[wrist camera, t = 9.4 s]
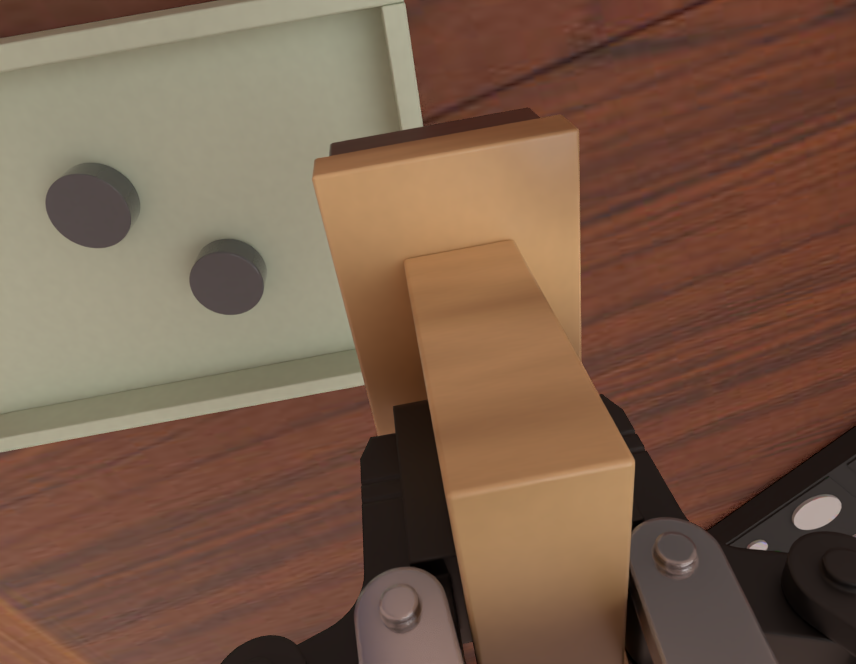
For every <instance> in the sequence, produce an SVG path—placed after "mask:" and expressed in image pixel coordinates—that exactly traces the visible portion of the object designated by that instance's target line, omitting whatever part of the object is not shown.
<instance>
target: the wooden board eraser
mask: <svg viewBox="0 0 856 664" xmlns="http://www.w3.org/2000/svg"><path fill="white" fill-rule="evenodd" d="M312 182H313V186H314V190H315V194H316V198H317V201H318V205H319V209H320V213H321V217H322V221H323V225H324V229H325V232H326V236H327V240H328V244H329V248H330V252H331V256H332V260H333V264H334V267H335V271H336V275H337V279H338V283H339V287H340V291H341V295H342V298H343V302H344V306H345V310H346V314H347V318H348V322H349V326H350V329H351V333H352V337H353V341H354V345H355V349H356V353H357V357H358V361H359V364H360V368H361V372H362V376H363V380H364V384H365V388H366V392H367V395H368V399H369V403H370V407H371V411H372V415H373V419H374V423H375V426H376V430H377V434H378V436H381V435H386V434H392V433H395V424H394V415H393V406H396V405H401V404H406V403H412V402H417V401H422V400H427V399H428V403H429V409H430V414H431V420H432V425H433V431H434V436H435V442H436V448H437V453H438V459H439V464H440V470H441V475H442V481H443V486H444V492H445V497H446V503H447V508H448V513H449V519H450V524H451V529H452V534H453V540H454V545H455V550H456V555H457V561H458V566H459V571H460V577H461V582H462V587H463V592H464V598H465V603H466V608H467V613H468V619H469V624H470V629H471V634H472V640H473V645H474V650H475V656H476V661H477V664H624V651H625V634H626V616H627V598H628V581H629V563H630V546H631V528H632V510H633V493H634V475H635V459H634V457H633V456H632V454H631V452H630V450H629V448H628V447H627V445H626V443H625V441H624V439H623V437H622V436H621V434H620V432H619V430H618V428H617V427H616V425H615V423H614V421H613V419H612V417H611V416H610V414H609V412H608V410H607V408H606V407H605V405H604V403H603V401H602V399H601V397H600V396H599V394H598V392H597V390H596V388H595V387H594V385H593V383H592V381H591V379H590V377H589V376H588V374H587V372H586V370H585V368H584V367H583V365H582V363H581V268H580V163H579V130H578V128H577V127H576V126H574V125H573V124H572V123H571V122H570V121H568V120H567V119H566V118H565V117H564V116H563V115H554V116H549V117H543V118H540V117H539V116H538V115H536V114H535V113H534V112H533V111H532V110H531V109H530V108H523V109H517V110H512V111H506V112H501V113H495V114H490V115H484V116H478V117H473V118H467V119H462V120H456V121H451V122H445V123H440V124H434V125H429V126H423V127H417V128H412V129H406V130H401V131H395V132H390V133H384V134H379V135H373V136H368V137H362V138H356V139H351V140H345V141H340V142H334V143H331V144H330V149H329V156H327V157H322V158H317V159H315V160H314V167H313V175H312Z"/></svg>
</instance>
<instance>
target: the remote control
mask: <svg viewBox="0 0 856 664" xmlns="http://www.w3.org/2000/svg"><path fill="white" fill-rule="evenodd" d="M819 531H832V532H838V533H843V534H847V535H850V536H853V537H856V426H855V427H854V428H853V429H851V430H850V431H848V432H847V433H846V434H844V435H843V436H841V437H840V438H838V439H837V440H836V441H834V442H833V443H831V444H830V445H829V446H827V447H826V448H824V449H823V450H821V451H820V452H819V453H817V454H816V455H814V456H813V457H812V458H810V459H809V460H807V461H806V462H804V463H803V464H802V465H800V466H799V467H797V468H796V469H795V470H793V471H792V472H790V473H789V474H787V475H786V476H785V477H783V478H782V479H780V480H779V481H778V482H776V483H775V484H773V485H772V486H770V487H769V488H768V489H766V490H765V491H763V492H762V493H761V494H759V495H758V496H756V497H755V498H753V499H752V500H751V501H749V502H748V503H746V504H745V505H744V506H742V507H741V508H739V509H738V510H736V511H735V512H734V513H732V514H731V515H729V516H728V517H727V518H725V519H724V520H722V521H721V522H720V523H718V524H717V525H715V526H714V527H712V528H711V529H710V530H708V531H707V532H708V533H709V534H710V535H712V536H713V537H714V539H715V540H716V541H719V542H721V543H724V544H727V545H731V546H734V547H740V548H747V549H757V550H767V551H777V552H787V553H788V552H789V549H790V547H791V545H792V544H793V543H794V541H796V540H797V539H798V538H799V537H801V536H803V535H805V534H808V533H812V532H819Z"/></svg>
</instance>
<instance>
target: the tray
mask: <svg viewBox="0 0 856 664" xmlns="http://www.w3.org/2000/svg"><path fill="white" fill-rule="evenodd" d="M403 1H404V0H217V1H212V2H206V3H200V4H194V5H189V6H183V7H177V8H171V9H166V10H160V11H154V12H148V13H143V14H137V15H131V16H125V17H120V18H114V19H108V20H102V21H97V22H91V23H85V24H79V25H74V26H68V27H62V28H56V29H51V30H45V31H39V32H33V33H28V34H22V35H16V36H10V37H5V38H0V452H5V451H10V450H16V449H21V448H26V447H32V446H37V445H43V444H48V443H53V442H59V441H64V440H70V439H75V438H80V437H86V436H91V435H97V434H102V433H107V432H113V431H118V430H124V429H129V428H135V427H140V426H145V425H151V424H156V423H162V422H167V421H172V420H178V419H183V418H189V417H194V416H199V415H205V414H210V413H216V412H221V411H226V410H232V409H237V408H243V407H248V406H254V405H259V404H264V403H270V402H275V401H281V400H286V399H291V398H297V397H302V396H308V395H313V394H318V393H324V392H329V391H335V390H340V389H345V388H351V387H356V386H362V385H365V384H364V380H363V376H362V372H361V368H360V364H359V361H358V357H357V353H356V349H355V345H354V341H353V337H352V333H351V329H350V326H349V322H348V318H347V314H346V310H345V306H344V302H343V298H342V295H341V291H340V287H339V283H338V279H337V275H336V271H335V267H334V264H333V260H332V256H331V252H330V248H329V244H328V240H327V236H326V232H325V229H324V225H323V221H322V217H321V213H320V209H319V205H318V201H317V198H316V194H315V190H314V186H313V182H312V175H313V167H314V160H315V159H317V158H322V157H327V156H329V149H330V144H331V143H334V142H340V141H345V140H351V139H356V138H362V137H368V136H373V135H379V134H384V133H390V132H395V131H401V130H406V129H412V128H417V127H423V122H422V115H421V108H420V101H419V95H418V88H417V81H416V74H415V67H414V60H413V53H412V46H411V40H410V33H409V26H408V19H407V12H406V5H405V3H404V2H403ZM82 163H100V164H104V165H107V166H110V167H112V168H114V169H116V170H117V171H119V172H121V173H122V174H123V175H124V176H126V177H127V178H128V179H129V181H130V182H131V183H132V184H133V186H134V187H135V189H136V191H137V193H138V196H139V199H140V214H139V217H138V219H137V221H136V222H135V224H134V225H133V227H132V228H131V230H130V231H129V232H128V234H127V235H126V236H125V238H124V239H123V240H122V241H120V242H119V243H117V244H115V245H113V246H110V247H106V248H89V247H84V246H81V245H78V244H76V243H74V242H72V241H70V240H69V239H67V238H66V237H64V236H63V235H62V234H61V233H60V232H59V231H58V230H57V229H56V228H55V227H54V225H53V224H52V222H51V221H50V219H49V217H48V214H47V211H46V205H45V200H46V194H47V192H48V189H49V188H50V186H51V185H52V184H53V183H54V182H55V181H56V180H57V179H58V178H59V177H61V176H62V175H63V174H64V173H65V172H66V171H68V170H69V169H70V168H72V167H73V166H75V165H78V164H82ZM219 239H236V240H240V241H243V242H245V243H247V244H249V245H250V246H252V247H253V248H254V249H256V250H257V251H258V252H259V254H260V255H261V256H262V258H263V260H264V262H265V264H266V268H267V278H266V283H265V287H264V292H263V295H262V298H261V299H260V301H259V302H258V304H257V305H256V306H255V307H253V308H252V309H251V310H249V311H247V312H244V313H242V314H237V315H223V314H219V313H216V312H213V311H211V310H209V309H207V308H206V307H204V306H203V305H202V304H201V303H199V301H198V300H197V299H196V298H195V296H194V295H193V293H192V291H191V288H190V283H189V276H190V272H191V269H192V267H193V264H194V262H195V260H196V258H197V256H198V254H199V252H200V251H201V249H202V248H203V247H204V246H206V245H207V244H209V243H211V242H213V241H215V240H219Z"/></svg>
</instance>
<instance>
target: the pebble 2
mask: <svg viewBox="0 0 856 664" xmlns="http://www.w3.org/2000/svg"><path fill="white" fill-rule="evenodd" d="M266 278H267V268H266V264H265V262H264V260H263V258H262V256H261V255H260V254H259V252H258V251H257V250H256V249H254V248H253V247H252V246H250V245H249V244H247V243H245V242H243V241H240V240H236V239H219V240H215V241H213V242H211V243H209V244H207V245H206V246H204V247H203V248H202V249H201V251H200V252H199V254H198V256H197V258H196V260H195V262H194V264H193V267H192V269H191V272H190V276H189V283H190V288H191V291H192V293H193V295H194V296H195V298H196V299H197V300H198V301H199V303H201V304H202V305H203V306H204V307H206V308H207V309H209V310H211V311H213V312H216V313H219V314H223V315H237V314H242V313H244V312H247V311H249V310H251V309H252V308H253V307H255V306H256V305H257V304H258V302H259V301H260V299H261V298H262V295H263V292H264V287H265V283H266Z"/></svg>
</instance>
